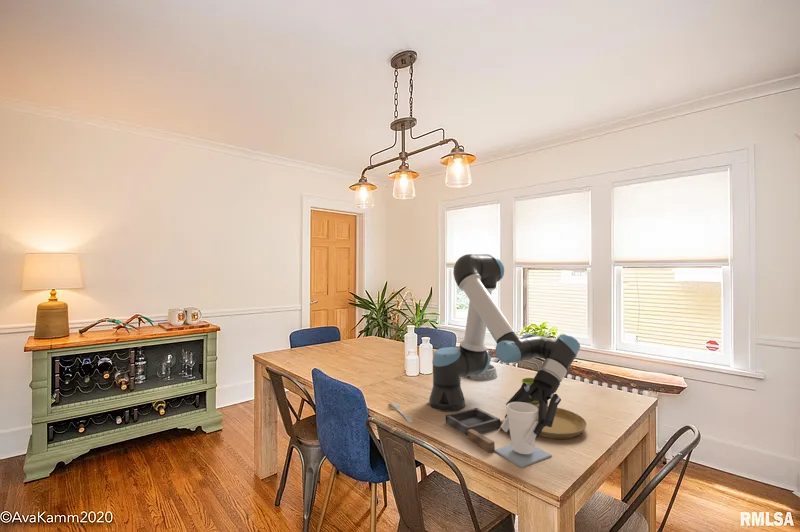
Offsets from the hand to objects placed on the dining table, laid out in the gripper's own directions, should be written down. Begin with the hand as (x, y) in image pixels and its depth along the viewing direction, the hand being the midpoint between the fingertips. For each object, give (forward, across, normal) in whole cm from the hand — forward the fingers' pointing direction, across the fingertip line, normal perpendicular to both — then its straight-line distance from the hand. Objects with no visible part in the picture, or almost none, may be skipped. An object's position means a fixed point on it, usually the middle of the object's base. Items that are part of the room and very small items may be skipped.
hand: (515, 435), depth 113 cm
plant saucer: (-14, +10, -24) cm, 30 cm away
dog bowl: (-29, +71, -39) cm, 86 cm away
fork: (+15, +48, +5) cm, 51 cm away
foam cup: (+1, 0, -6) cm, 6 cm away
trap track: (+2, +18, -7) cm, 19 cm away
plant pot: (-25, +30, -34) cm, 52 cm away
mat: (+2, 0, -7) cm, 7 cm away
